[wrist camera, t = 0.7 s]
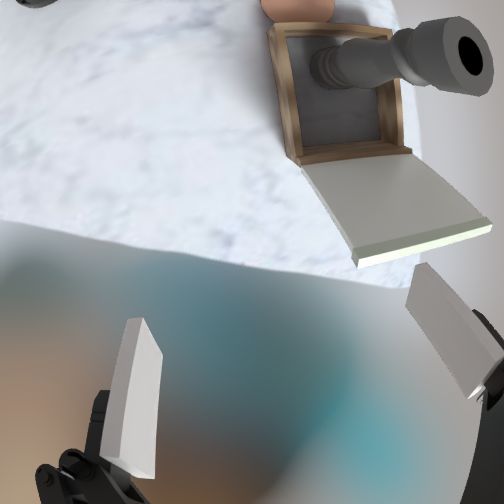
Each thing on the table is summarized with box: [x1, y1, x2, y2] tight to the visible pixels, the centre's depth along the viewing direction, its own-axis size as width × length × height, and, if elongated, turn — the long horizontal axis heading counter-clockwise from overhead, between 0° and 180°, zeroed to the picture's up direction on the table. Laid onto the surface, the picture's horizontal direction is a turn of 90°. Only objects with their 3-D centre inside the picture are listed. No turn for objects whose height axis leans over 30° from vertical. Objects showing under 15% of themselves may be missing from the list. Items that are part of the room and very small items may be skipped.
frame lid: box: [301, 154, 493, 269], centre depth 26 cm, size 4×16×15 cm, turn 99°
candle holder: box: [309, 16, 494, 96], centre depth 20 cm, size 6×6×25 cm
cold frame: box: [267, 22, 412, 168], centre depth 29 cm, size 25×16×12 cm, turn 9°
